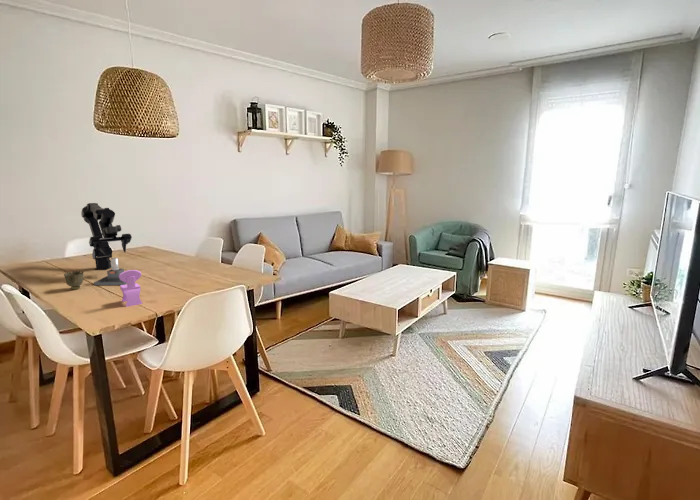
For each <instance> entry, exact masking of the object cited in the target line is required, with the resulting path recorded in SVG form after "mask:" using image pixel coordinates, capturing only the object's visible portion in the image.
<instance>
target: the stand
mask: <svg viewBox="0 0 700 500" xmlns="http://www.w3.org/2000/svg"><path fill="white" fill-rule="evenodd" d="M122 272H125V268H119V271H112V268H111V269H109V270H107V271H106V274H107V275H106V276H104V277H102V278H101V279H98V280H96V281H94V282H93V284H94V286H120V285H127V283H126V282H123V281H121V280H120V279H119V275H120V274H121V273H122Z"/></svg>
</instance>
